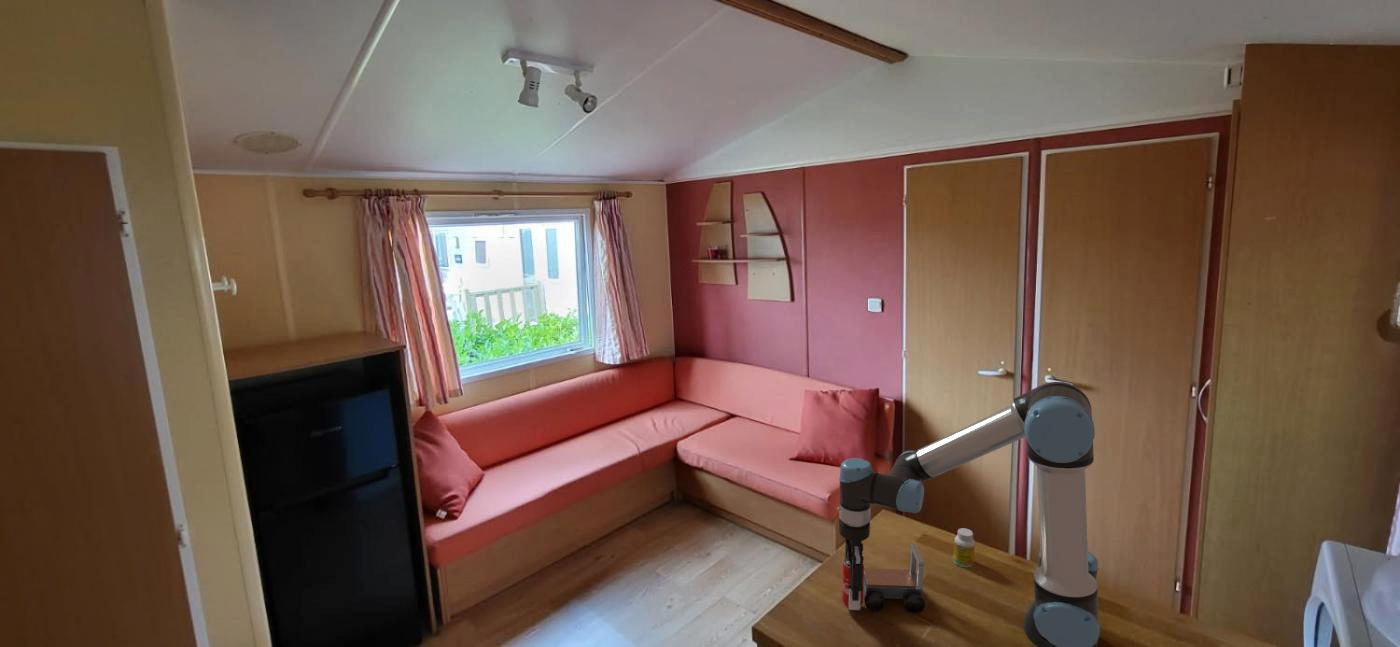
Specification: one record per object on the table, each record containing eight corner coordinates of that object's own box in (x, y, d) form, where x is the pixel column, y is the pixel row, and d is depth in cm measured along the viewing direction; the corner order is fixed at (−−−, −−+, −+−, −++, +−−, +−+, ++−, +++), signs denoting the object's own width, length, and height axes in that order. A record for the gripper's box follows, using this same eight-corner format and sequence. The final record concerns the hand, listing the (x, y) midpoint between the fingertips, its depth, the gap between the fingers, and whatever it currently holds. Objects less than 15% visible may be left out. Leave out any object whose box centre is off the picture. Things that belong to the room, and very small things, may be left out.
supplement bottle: (954, 566, 173) (956, 535, 171) (952, 555, 178) (954, 525, 176) (974, 569, 171) (976, 538, 169) (972, 558, 176) (974, 528, 174)
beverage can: (863, 611, 154) (864, 569, 151) (842, 609, 155) (843, 567, 152) (862, 598, 159) (863, 557, 156) (841, 596, 160) (842, 555, 157)
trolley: (914, 586, 165) (916, 540, 162) (924, 613, 154) (927, 565, 151) (857, 584, 166) (859, 539, 163) (864, 611, 156) (866, 563, 153)
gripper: (834, 501, 161) (833, 578, 166) (844, 539, 143) (842, 625, 148) (863, 501, 160) (861, 579, 165) (876, 540, 142) (874, 626, 147)
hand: (852, 601), depth 157 cm, fingers closed on beverage can, 5 cm apart
